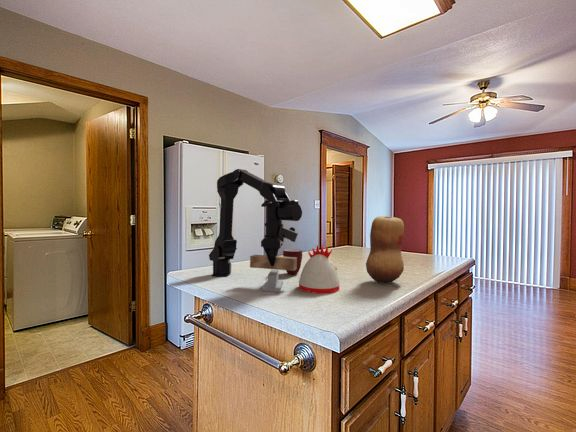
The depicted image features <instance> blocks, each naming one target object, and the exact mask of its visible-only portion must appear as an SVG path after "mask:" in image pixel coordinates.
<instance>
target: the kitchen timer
mask: <svg viewBox="0 0 576 432" xmlns="http://www.w3.org/2000/svg"><path fill="white" fill-rule="evenodd" d="M332 251H333V249H331V250H330V251H329V246H328V245H327V246H326V249H325V251H324V246H323V245H321V246H320V248H319V245H318V244H317V245H316V250H315V248H314V247H312V254H311V252H310V251H307V252H308V253H307V254H308V255H309V259H308V260H307V261H306V263H305V264H304V266H303V267H302V270H301V273H300V275H299V276H300V277H299V281H298V288H299V290H300V291H301V292H302V291H303V292H306V293H310V294H318V295H321V294H322V295H323V294H333V293H337V292H338V291H340V279H339V275H338V271H337V269H338V268H337V267H336V266H335V264H334V263H333V262H332V261H331V259H330V258H329V257H330V256H331V254H332Z"/></svg>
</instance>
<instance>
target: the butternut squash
mask: <svg viewBox="0 0 576 432" xmlns="http://www.w3.org/2000/svg"><path fill="white" fill-rule="evenodd" d="M404 238H405V225H404V221H403V220H402V219H401V218H398V217H394V216H393V217H392V216H389V215H388V216H387V215H381V216H379V215H378V216H376V217H375V218H374V219H373V220H372V222H371V227H370V232H369V242H370V243H369V245H370V251H369V254H368V257H367V259H366V262H365V269H366V273H367V274H368V275H369V277H370V278H371V279H372V280H373V281H375V282H376V283H379V284H388V283H389V284H390V283H393V282H394V281H396V280H398V279H399V278H400V276H402V274H403V272H404V268H405V266H404V263H405V262H404V259H403V256H402V255H403V254H402V247H403V242H404Z"/></svg>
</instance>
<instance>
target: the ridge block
mask: <svg viewBox="0 0 576 432" xmlns="http://www.w3.org/2000/svg"><path fill="white" fill-rule="evenodd" d="M283 284H284V281H283V280H279V270H277V269H270V271H269V273H268V275H267V280H266V281H265V283H264V285H263V287H262V289H261V291H262V292H281V290H282V286H283Z"/></svg>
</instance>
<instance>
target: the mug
mask: <svg viewBox="0 0 576 432" xmlns="http://www.w3.org/2000/svg"><path fill="white" fill-rule="evenodd" d="M282 256H283V257H297V269H296V270H294V271H290V270H285V271H286V273H287V275H290V276H296V275H298V274H299V272H300V269H301V266H302V260H303V249H299V248H298V249H297V248H296V249H295V248H289V249H288V248H287V249H283V250H282Z"/></svg>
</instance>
